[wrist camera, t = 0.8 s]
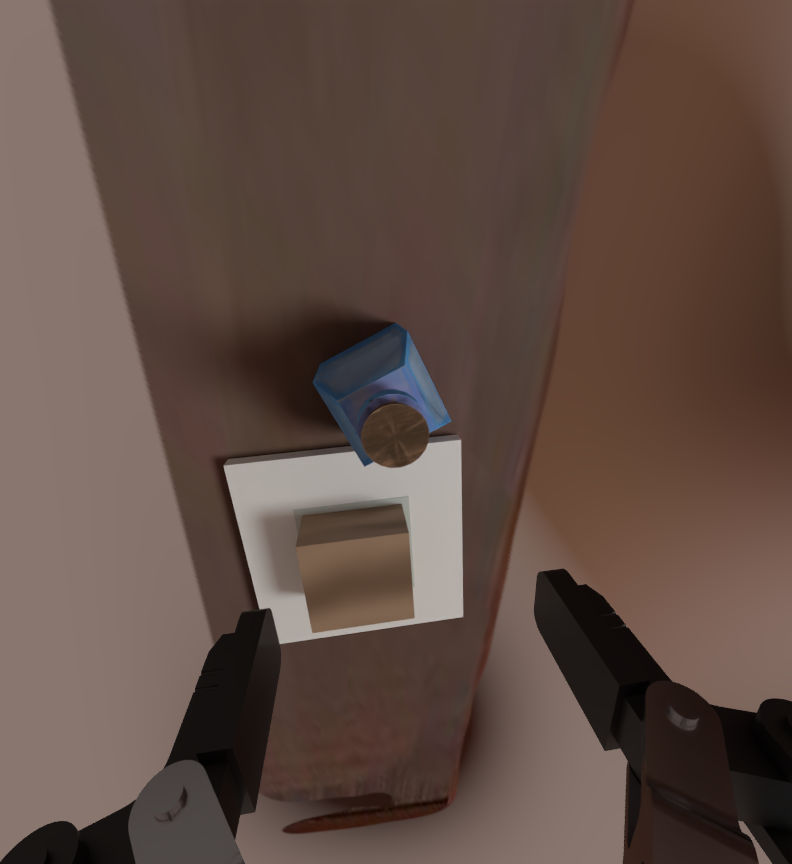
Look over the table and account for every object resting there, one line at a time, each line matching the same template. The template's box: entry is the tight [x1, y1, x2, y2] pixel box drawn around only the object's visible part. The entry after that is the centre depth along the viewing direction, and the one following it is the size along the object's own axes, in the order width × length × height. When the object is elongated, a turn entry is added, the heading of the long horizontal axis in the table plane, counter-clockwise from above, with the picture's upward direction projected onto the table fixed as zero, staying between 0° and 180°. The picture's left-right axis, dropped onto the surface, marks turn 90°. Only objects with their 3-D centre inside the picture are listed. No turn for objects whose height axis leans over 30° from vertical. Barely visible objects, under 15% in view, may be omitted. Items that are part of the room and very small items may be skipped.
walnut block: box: [296, 504, 415, 633], centre depth 30 cm, size 8×8×4 cm
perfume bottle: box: [313, 323, 451, 468], centre depth 23 cm, size 6×6×12 cm
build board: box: [224, 434, 463, 644], centre depth 33 cm, size 18×18×1 cm
